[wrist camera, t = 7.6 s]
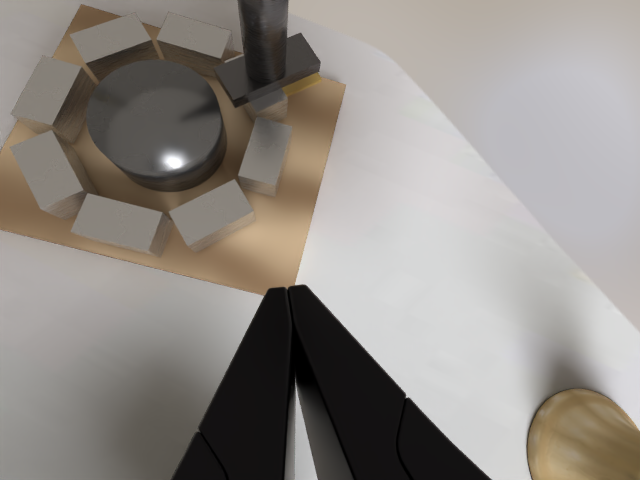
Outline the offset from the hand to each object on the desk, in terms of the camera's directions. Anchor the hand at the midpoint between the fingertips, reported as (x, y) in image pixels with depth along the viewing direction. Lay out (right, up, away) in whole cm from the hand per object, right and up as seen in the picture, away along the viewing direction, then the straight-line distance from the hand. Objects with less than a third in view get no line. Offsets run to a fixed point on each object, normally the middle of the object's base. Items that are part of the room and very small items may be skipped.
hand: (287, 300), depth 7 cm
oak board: (-9, +7, +15) cm, 18 cm away
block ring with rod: (-8, +9, +14) cm, 18 cm away
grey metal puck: (-9, +8, +14) cm, 18 cm away
